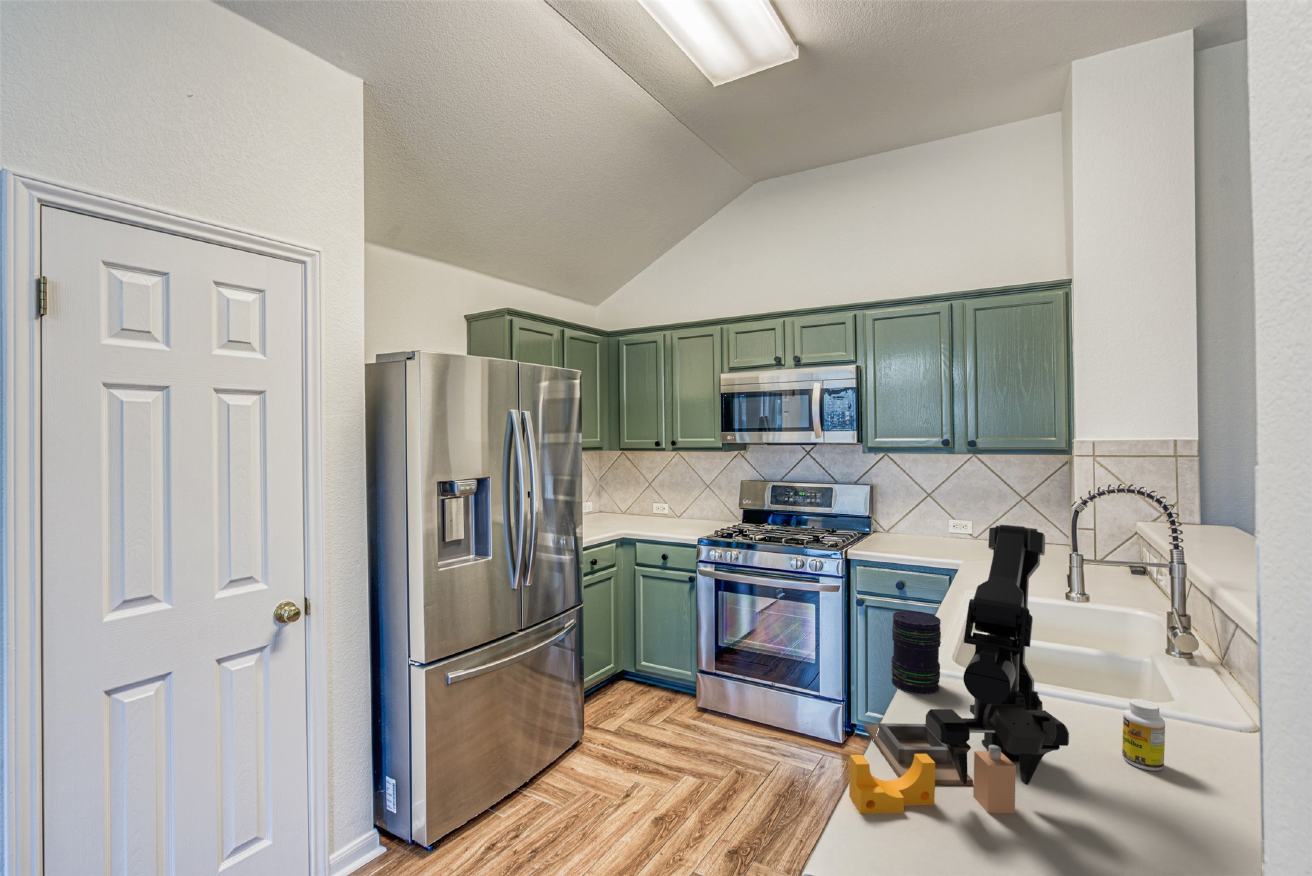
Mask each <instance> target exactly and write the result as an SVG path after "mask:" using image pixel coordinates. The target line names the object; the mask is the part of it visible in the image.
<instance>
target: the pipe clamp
mask: <svg viewBox="0 0 1312 876" xmlns="http://www.w3.org/2000/svg"><path fill="white" fill-rule="evenodd" d="M848 787H849V790H848V791H849V792H848V797H849V798H850V799H851V801H852V803H853V804H854V806H855V808H856V810H857V811H858V812H859V814H860V815H866V814H904V813H905V812H904V811H905V810H904V807H905V806H928V805H929V806H930V805H931V806H933V805H935V796H936V795H935V791H936V789H935V787H936V785H935V762H934V761H933V760H932V759H931V758H930V757H929V756H928V755H927V754H914V760H913V763H912V765H911V767H910V769H909V770H908V771H907V772H906V773H905V774H904V775H903V776H902V777H900V778H899V777H897V778H895V779H891V780H883V779H879V778H876V777H875V776H873V775H872V773H871V769H870V763H869V762H868V759H866V758H865V756H864V755H863V754H850V755H849V786H848Z"/></svg>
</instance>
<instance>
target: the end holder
mask: <svg viewBox="0 0 1312 876" xmlns="http://www.w3.org/2000/svg"><path fill="white" fill-rule="evenodd" d="M863 726H864V727H863V729H864V731H865V732H866V733H867V735H868V737H870V740H871V741H873V739H874V742H873V743H874V745H875V746H876V748H877V749H878V750H879V752H880V753H881V754H882V757H883V758H884V759H885V761H886V762H887V763H888V765H889V767H891V769H892V770H893V772H894V773H895V774H896V776H897V778H900V777H902V776H903V775H904V774H905V773H906V772H907V771H908V770H909V769H910V767H911V765H912V763H913V760H914V754H927V755H928V756H929V757H930V758H931V759H932V760H933V761H934V762H935V786H937V785H940V786H943V785H945V786H948V785H949V786H974V778H972V777H971V776H970V775H969V774H968V776H967V784H963V783H962V782H961V780H960V778H959V775H958V772H957V770H956V767H955V765H954V762H953V759H952V757H951V754H950V752H949V749H948V747H947V745H946V744H944V743H941V742H940V741H939V740H938V739H937V738H936V736H935V735H934V734H933V733H932V732H931V731H930V730H929V729H928V728H927V727H926V723H892V722H891V723H890V722H889V723H884V722H883V723H882V722H881V723H880V722H879V723H878V724H868V723H867V724H863ZM878 728H879V731H878ZM877 731H878V733H877ZM876 734H877V736H876Z"/></svg>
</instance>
